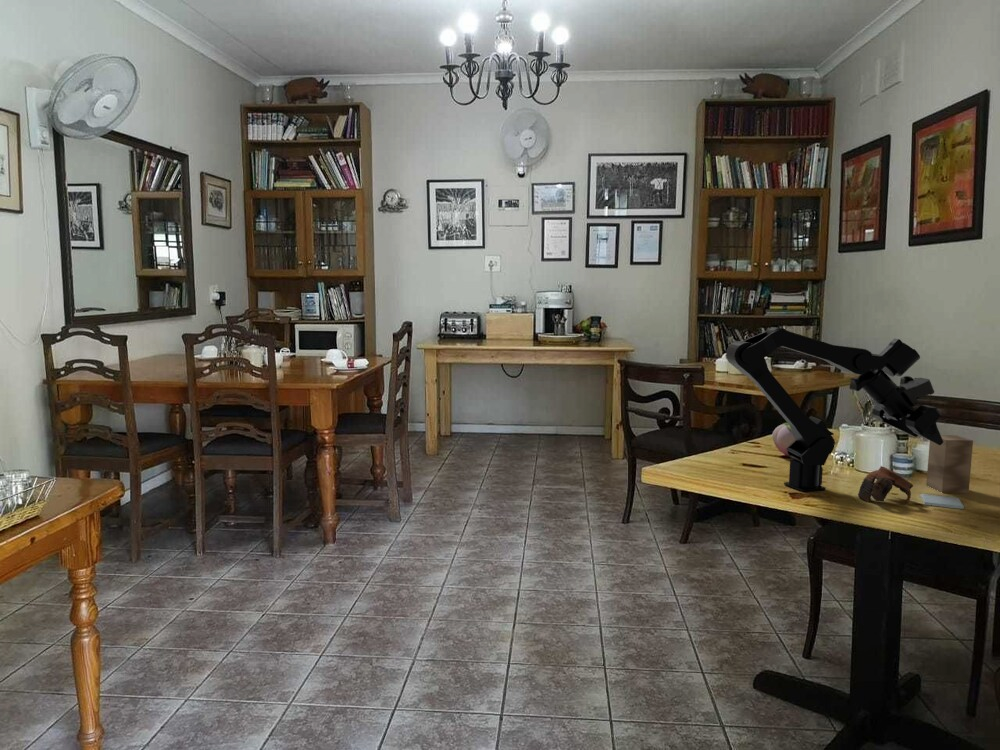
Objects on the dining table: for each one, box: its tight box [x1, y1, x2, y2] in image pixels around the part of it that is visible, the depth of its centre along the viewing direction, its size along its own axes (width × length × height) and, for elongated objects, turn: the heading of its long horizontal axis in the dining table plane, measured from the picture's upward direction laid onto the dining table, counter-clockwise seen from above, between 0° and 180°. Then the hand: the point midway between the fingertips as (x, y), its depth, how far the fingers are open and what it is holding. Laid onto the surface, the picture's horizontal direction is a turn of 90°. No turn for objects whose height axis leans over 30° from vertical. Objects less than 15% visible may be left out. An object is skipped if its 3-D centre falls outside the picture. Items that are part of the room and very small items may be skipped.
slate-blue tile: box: [920, 493, 964, 510], centre depth 154 cm, size 7×7×1 cm
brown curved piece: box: [857, 465, 914, 504], centre depth 154 cm, size 12×10×8 cm
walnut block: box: [925, 434, 974, 494], centre depth 164 cm, size 6×6×12 cm
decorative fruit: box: [771, 422, 796, 457], centre depth 196 cm, size 9×8×10 cm
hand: (929, 439), depth 164 cm, fingers open, 9 cm apart
